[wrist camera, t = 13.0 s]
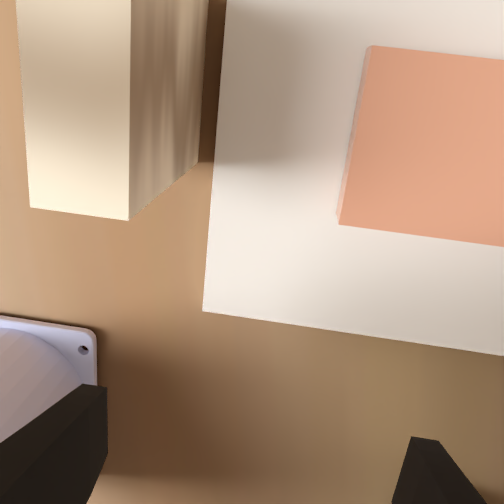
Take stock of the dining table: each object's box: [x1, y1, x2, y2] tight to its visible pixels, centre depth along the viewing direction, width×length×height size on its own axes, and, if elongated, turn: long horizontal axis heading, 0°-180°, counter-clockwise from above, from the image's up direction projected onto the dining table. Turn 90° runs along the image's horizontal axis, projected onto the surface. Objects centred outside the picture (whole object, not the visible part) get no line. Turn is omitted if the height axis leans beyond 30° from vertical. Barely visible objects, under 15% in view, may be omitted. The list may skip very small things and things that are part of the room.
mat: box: [202, 0, 504, 356], centre depth 18 cm, size 14×16×1 cm
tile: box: [336, 45, 504, 247], centre depth 16 cm, size 2×8×6 cm
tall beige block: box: [16, 0, 209, 221], centre depth 14 cm, size 6×2×8 cm, turn 174°
